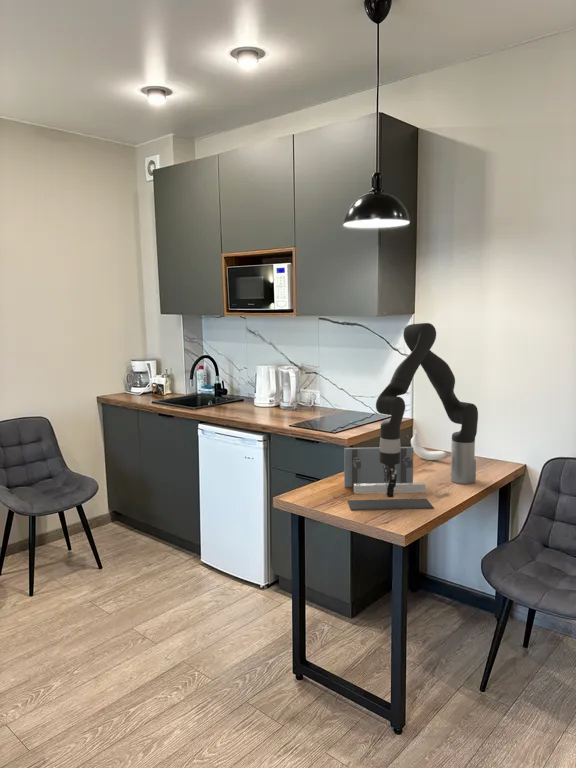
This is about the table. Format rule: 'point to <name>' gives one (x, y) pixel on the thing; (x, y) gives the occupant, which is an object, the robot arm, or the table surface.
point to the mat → (389, 504)
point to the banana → (425, 453)
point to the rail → (383, 488)
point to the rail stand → (374, 466)
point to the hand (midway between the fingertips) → (389, 495)
